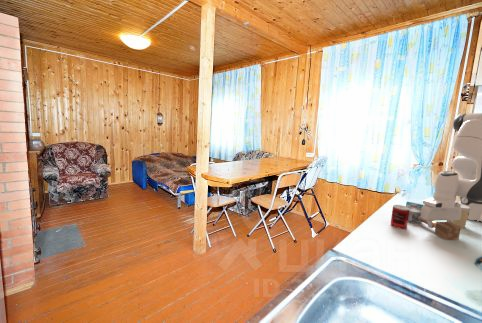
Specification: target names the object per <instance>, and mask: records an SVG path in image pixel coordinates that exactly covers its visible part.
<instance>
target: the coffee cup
mask: <svg viewBox="0 0 482 323" xmlns="http://www.w3.org/2000/svg"><path fill="white" fill-rule="evenodd" d="M460 205H461V218H460V220H453V222H452V223H453V224H455V225H458V226H460V227H461V229H465V228H466V225H467V221H468V219H467V218H468V215H469V211H470V207H468V206H465V205H462V204H460Z"/></svg>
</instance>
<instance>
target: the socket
mask: <svg viewBox="0 0 482 323" xmlns="http://www.w3.org/2000/svg"><path fill="white" fill-rule="evenodd" d="M435 222H436V228H435V229H434V235H435V236H437V237H439V238H441V239H443V240H445V241H447V240H448V241H450V240H452V241H454V240H455V241H457V240H459V239H460V234H461V230H462V228H461V227H460V226H458V225H455V224H453V223H450V222H447V221H435Z"/></svg>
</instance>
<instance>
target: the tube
mask: <svg viewBox="0 0 482 323" xmlns="http://www.w3.org/2000/svg"><path fill="white" fill-rule="evenodd" d="M418 220H419V221H421V222H422V223H423V224H426V225H428V222H427V220H425V219H422V218H421V216H419V217H418ZM436 222H437V221H435V220H433V222H432V224H433V225H434V228H436ZM434 228H433V229H434Z"/></svg>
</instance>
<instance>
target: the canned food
mask: <svg viewBox="0 0 482 323" xmlns="http://www.w3.org/2000/svg"><path fill="white" fill-rule="evenodd" d="M409 211H410V208H408V207H406V205H401V204H394V205H392V210H391V219H390V225H391V226H393V227H395V228H397V229H403V230H405V229H407V227H408V223H409V221H408V218H409Z"/></svg>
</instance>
